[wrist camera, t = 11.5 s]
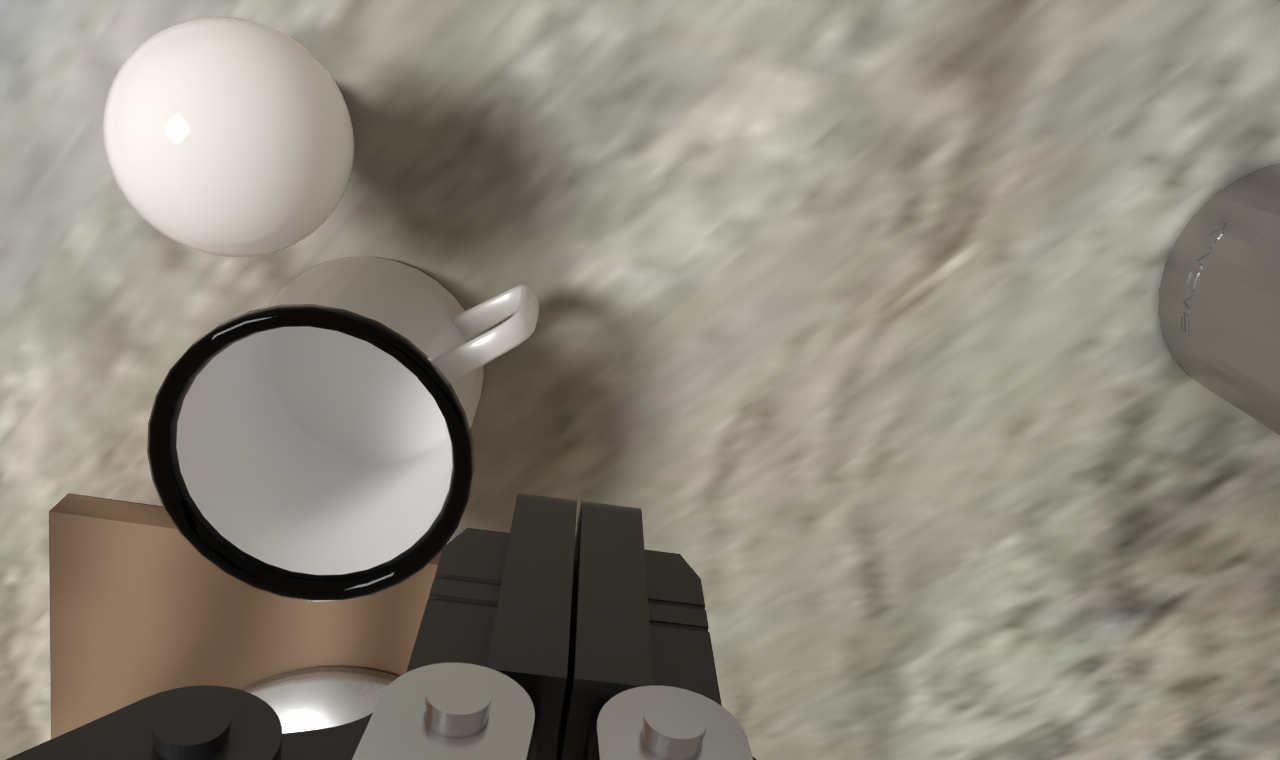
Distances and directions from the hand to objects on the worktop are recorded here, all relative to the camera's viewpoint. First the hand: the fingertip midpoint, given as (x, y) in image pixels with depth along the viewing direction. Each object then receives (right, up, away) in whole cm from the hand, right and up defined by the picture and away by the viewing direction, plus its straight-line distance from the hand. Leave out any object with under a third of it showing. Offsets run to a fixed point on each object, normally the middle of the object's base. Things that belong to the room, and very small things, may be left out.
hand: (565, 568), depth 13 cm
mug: (-8, +4, +26) cm, 28 cm away
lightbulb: (-11, +12, +23) cm, 28 cm away
